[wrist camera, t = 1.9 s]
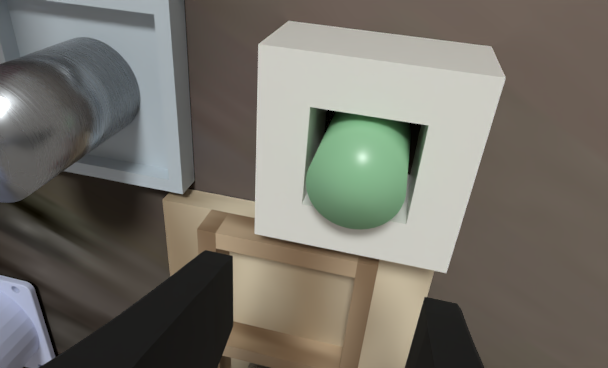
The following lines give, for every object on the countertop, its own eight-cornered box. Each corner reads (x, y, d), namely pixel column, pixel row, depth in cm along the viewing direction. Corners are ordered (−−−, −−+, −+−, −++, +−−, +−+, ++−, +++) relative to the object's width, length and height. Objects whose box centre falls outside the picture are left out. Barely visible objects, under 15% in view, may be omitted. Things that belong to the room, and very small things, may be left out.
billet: (62, 122, 21) (-56, 190, 16) (43, 31, 19) (-100, 75, 14) (145, 137, 20) (49, 212, 15) (134, 43, 18) (19, 94, 13)
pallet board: (191, 379, 29) (170, 418, 27) (174, 186, 22) (144, 218, 19) (385, 429, 27) (380, 477, 25) (438, 237, 20) (439, 279, 17)
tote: (39, 151, 22) (21, 162, 21) (-6, -30, 18) (-31, -27, 17) (194, 180, 21) (182, 194, 20) (183, -7, 17) (168, -2, 16)
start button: (326, 162, 18) (302, 219, 15) (334, 89, 17) (309, 134, 13) (403, 176, 18) (396, 237, 14) (418, 101, 16) (415, 151, 13)
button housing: (279, 187, 20) (254, 233, 17) (288, 20, 17) (258, 44, 14) (443, 217, 19) (446, 273, 16) (491, 46, 16) (505, 77, 13)
